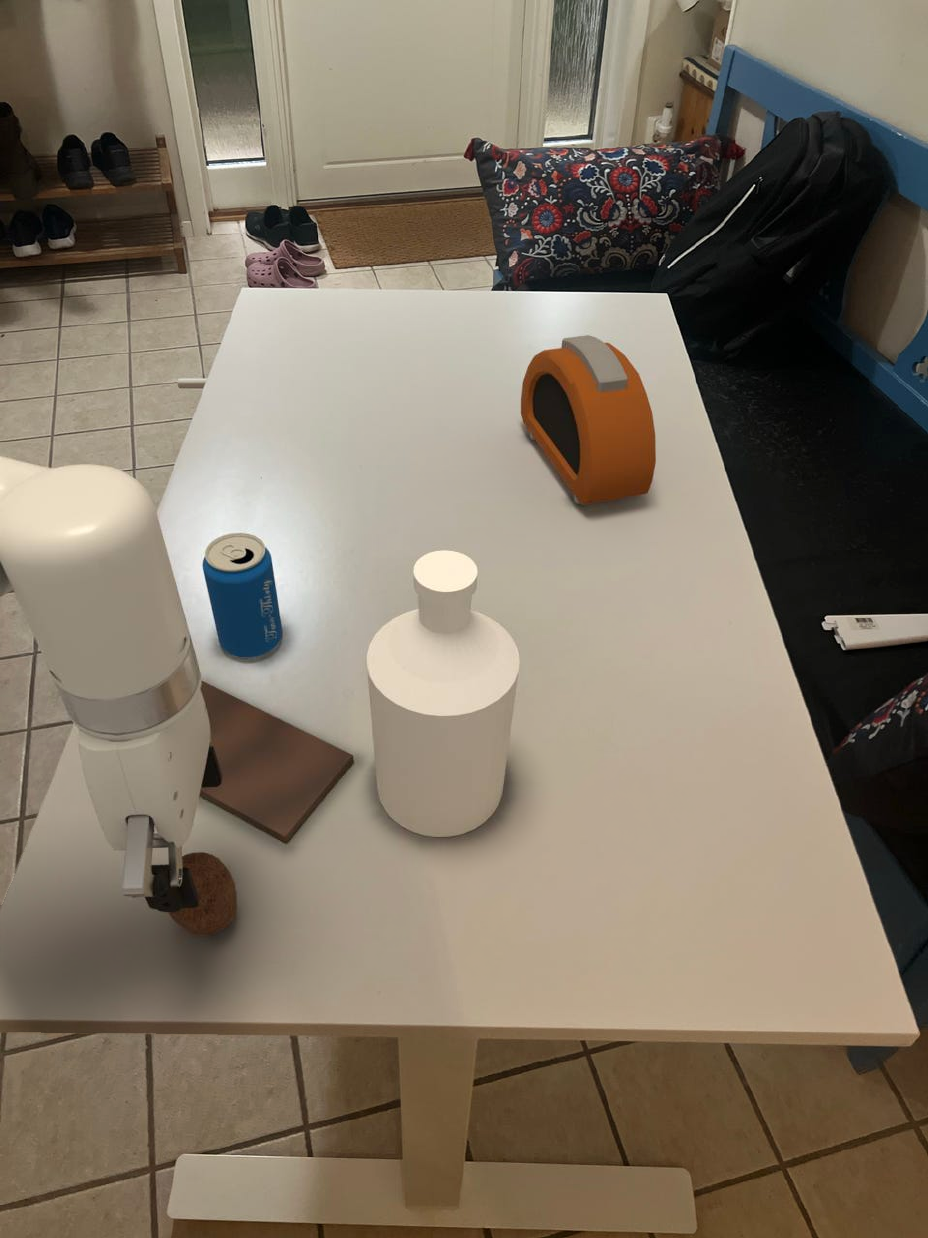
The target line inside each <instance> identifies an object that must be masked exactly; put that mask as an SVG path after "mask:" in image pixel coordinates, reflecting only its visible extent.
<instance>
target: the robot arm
mask: <svg viewBox="0 0 928 1238" xmlns="http://www.w3.org/2000/svg"><path fill="white" fill-rule="evenodd" d="M165 541H166V540H165V538H164V533H163V531H162V527H161V523H160V519H159V516H158V513H157V509H156V507H155V505H154V501H153V499H152V497H151V496H150V494H149V492H148V490H147V489H146V487H144V485H143V484H141V482H139V480H137V479H136V478H135V477H133V476H132V475H130V474H128V473H127V472H126V471H123V470H121V469H118V468H116V467H111V466H108V465H101V464H91V463H89V464H87V463H80V464H70V465H69V464H68V465H63V466H59V467H48V466H43V465H39V464H35V463H30V462H26V461H23V460H18V459H15V458H10V457H6V456H3V455H0V598H2V597H3V596H5V595H7V594H10V592H11V591H12V592H13V593H14V595H15V597H16V599H17V601H18V604H19V606H20V608H21V610H22V612H23V615H24V617H25V619H26V621H27V624H28V626H29V629H30V630H31V633H32V635H33V637H34V639H35V642H36V644H37V646H38V648H39V651H40V654H41V655H42V657H43V660H44V661H45V665H46V666H47V669H48V670H49V673H50V675H51V678H52V681H53V682H54V685H55V687H56V689H57V692H58V693H59V696H60V698H61V700H62V702H63V705H64V707H65V710H66V712H67V714H68V717H69V719H70V720H71V722H72V723H73V724H74V726H75V727H76V728H77V729H78V735H77V736H78V737H77V743H78V750H79V756H80V761H81V767H82V772H83V776H84V779H85V780H84V781H85V783H86V786H87V787H86V788H87V790H88V794H89V797H90V798H91V802H92V805H93V808H94V811H95V815H96V817H97V820H98V822H99V824H100V827H101V830H102V832H103V835H104V837H105V839H106V841H107V844H108V845H109V846H110V848H111V849H112V850H113V851H120V852H121V851H122V852H123V851H124V859H123V860H124V862H123V873H122V883H121V892H122V893H121V894H122V896H123V897H129V898H144V899H145V901H146V903H147V905H148V907H149V909H152V910H157V911H158V912H161V913H168V912H177V911H179V910H180V909H181V908H196V907H198V905H199V899H200V898H199V895H198V892H197V890H196V887H195V884H194V881H193V879H192V876H191V873H190V871H189V869H188V868H186V867H183V866H182V856H183V846H184V845H185V844H186V843H187V842H188V840H189V838H190V836H191V833H192V831H193V826H194V821H195V818H196V813H197V808H198V804H199V799H200V790H201V787H218V786H219V785H221V782H222V774H221V771H220V767H219V764H218V760H217V757H216V753H215V750H214V746H209V745H210V744H211V729H210V723H209V718H208V713H207V709H206V705H205V702H204V699H203V696H202V692H201V689H200V688H201V684H202V681H203V680H202V672H201V669H200V665H199V662H198V657H197V654H196V651H195V647H194V644H193V639H192V637H191V633H190V629H189V626H188V622H187V618H186V614H185V611H184V607H183V604H182V600H181V596H180V592H179V589H178V586H177V585H178V584H177V581H176V577H175V574H174V572H173V567H172V563H171V559H170V556H169V552H168V549H167V544H166V542H165ZM201 680H202V681H201ZM155 830H156V832H157V833H155ZM166 848H167V857H168V864H152V863H153V849H166Z"/></svg>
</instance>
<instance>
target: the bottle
mask: <svg viewBox="0 0 928 1238" xmlns="http://www.w3.org/2000/svg"><path fill="white" fill-rule="evenodd" d="M412 572H413V574H412V575H413V577H412V578H413V590H414V591H415V593H416V595H417V602H418V603H417V604H418V606H417V608H416V609H414V610H410V611H406V612H404V613H402V614H400V615H398V616H396V617H394V618H392V619H391V620H389V621H388V622H386V623H385V624H384V625H382V627H381V628H380V629H379V630H378V631H377V632H376V633H375V635H374V636H373V638H372V639H371V641H370V643H369V646H368V649H367V653H366V671H367V673H366V674H367V682H368V683H367V684H368V694H369V708H370V718H371V729H372V730H371V731H372V738H373V739H372V742H373V743H372V744H373V754H374V765H375V766H374V767H375V776H376V777H375V778H376V789H377V795H378V799H379V802H380V803H381V805H382V807H383V809H384V811H385V812H386V813H387V815H388V816H389V818H391V820H393V821H394V822H395V823H396V824H398V825H399V826H400V827H402V828H404V829H405V830H408V831H409V832H412V833H414V834H418V835H421V836H425V837H432V838H452V837H456V836H460V835H464V834H466V833H469V832H471V831H473V830H475V829H477V828H478V827H480V826H481V825H484V824H485V823H486V822H487V820H489V819H490V818H491V817H492V816H493V815H494V813H495V812H496V810H497V808H498V807H499V805H500V802H501V800H502V796H503V791H504V790H503V789H504V782H505V777H506V776H505V775H506V770H507V769H506V767H507V760H508V754H509V747H510V746H509V745H510V740H511V739H510V737H511V731H512V725H513V724H512V723H513V716H514V709H515V701H516V694H517V688H518V687H517V685H518V680H519V679H518V678H519V671H520V662H521V660H520V654H519V649H518V646H517V644H516V643H515V640H514V639H513V638H512V637H513V636H511V635H510V634H509V632H508V630H506V629H505V628H504V627H503V626H502V625H501V624H500V623H498V622H497V621H495V620H494V619H492V618H490V616H487V615H485V614H482V613H480V612H478V611H475V610H473V609H472V601H473V596H474V594H475V593H476V591H477V587H478V573H479V572H478V567H477V565H476V563H475V562H474V561H473V559H472V558H471V557H470V556H467V555H466V554H464V553H462V552H459V551H454V550H436V551H431V552H428V553H426V554H424V555H423V556H421V557H419V558H418V560H416V562H415V563H414V566H413V571H412Z"/></svg>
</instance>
